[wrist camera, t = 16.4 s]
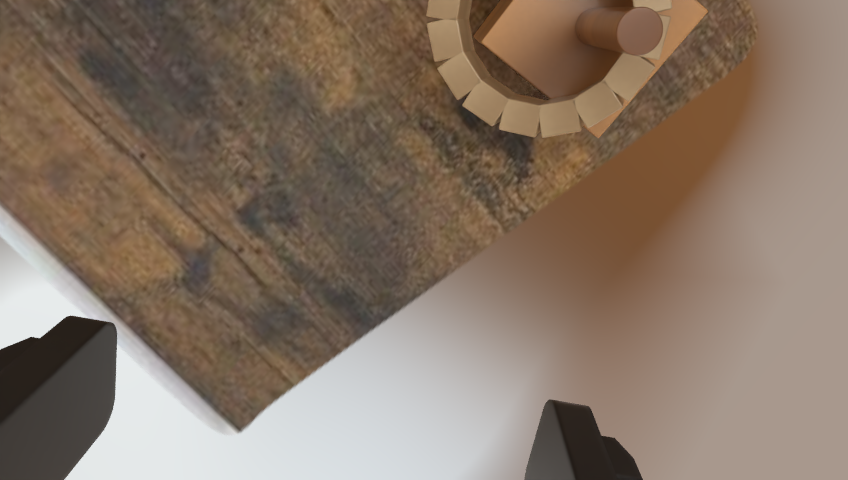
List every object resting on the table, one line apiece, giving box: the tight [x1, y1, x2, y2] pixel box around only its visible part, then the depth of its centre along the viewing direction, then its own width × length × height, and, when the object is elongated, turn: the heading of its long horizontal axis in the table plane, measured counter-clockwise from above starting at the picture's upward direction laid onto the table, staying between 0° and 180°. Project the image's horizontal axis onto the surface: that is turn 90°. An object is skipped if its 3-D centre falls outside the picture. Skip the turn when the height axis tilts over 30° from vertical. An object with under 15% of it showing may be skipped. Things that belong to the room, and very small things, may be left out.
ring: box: [426, 0, 672, 138], centre depth 32 cm, size 11×11×2 cm
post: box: [473, 0, 708, 138], centre depth 33 cm, size 8×8×16 cm
